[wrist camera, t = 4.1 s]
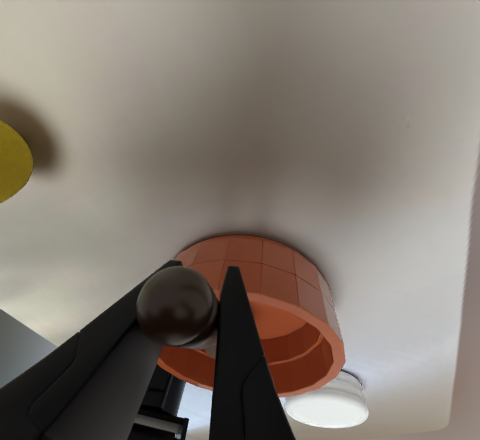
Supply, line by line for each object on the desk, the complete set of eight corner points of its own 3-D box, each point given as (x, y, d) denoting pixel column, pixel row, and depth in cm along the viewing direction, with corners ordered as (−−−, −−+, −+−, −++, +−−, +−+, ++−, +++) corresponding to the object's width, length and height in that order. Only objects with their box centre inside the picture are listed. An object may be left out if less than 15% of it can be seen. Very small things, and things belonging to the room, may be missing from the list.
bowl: (310, 345, 26) (318, 408, 21) (178, 329, 27) (158, 384, 23) (349, 240, 17) (379, 306, 12) (152, 223, 19) (111, 278, 14)
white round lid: (270, 372, 31) (270, 404, 28) (343, 360, 27) (352, 395, 24) (303, 401, 35) (306, 431, 32) (371, 393, 31) (381, 427, 28)
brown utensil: (253, 347, 22) (243, 498, 14) (209, 341, 23) (176, 485, 15) (271, 158, 12) (271, 328, 4) (190, 154, 12) (45, 301, 4)
